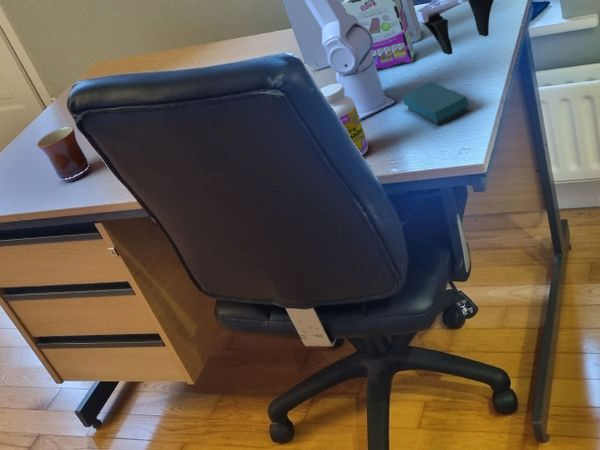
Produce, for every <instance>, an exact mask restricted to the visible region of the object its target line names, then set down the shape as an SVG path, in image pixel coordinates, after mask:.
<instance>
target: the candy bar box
mask: <svg viewBox="0 0 600 450" xmlns="http://www.w3.org/2000/svg"><path fill="white" fill-rule="evenodd" d="M342 6H343V8H344V10H345V11H346V12H347V13H348V14H351V15H353V16H355V17H356V18H357V20H358V21H359V23H360V24H361V25H362V26H364V27H365V28H367V29H368V30H369V31H370V33H371V35H372V38H373V45H372V48H371V49H370V52H371V55H372V57H373V59H374V62H375V66H376V69H377V71H380V70H384V69H389V68H393V67H397V66H402V65H405V64H409V63H412V62H414V61H413V60H414V57H415V54H416V52H415V48H414V45H413V42H412V41H411V38H410V34H409V31H408V28H407V24H406V21H405V17H404V14H403V10H402V7H401V4H400V0H343V2H342Z"/></svg>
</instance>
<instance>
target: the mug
mask: <svg viewBox="0 0 600 450" xmlns="http://www.w3.org/2000/svg"><path fill="white" fill-rule="evenodd" d="M75 132H76V131H75V128H74V127H73V126H64V127H60V128H58V129H55V130H53V131H51V132H49V133H47V134H45V135H44V136H43V137H41V138H40V139H39V140H38V141H37V143H36V146H37V147H38V149H40V150H41V152H43V153H44V154H45V155H46V157H47V158H48V160H49V162H50V164H51V166H52V168H53V170H54V171H55V173H56V175H57V176H58V178H59V179H60V178H61V179H60V180H61V181H62V182H64V183H71V182H75V181H77V180H79V179H81V178H83V177H84V176H86V174H87V173H88V172H89V170H90V164H89V161H88V158H87V156H86V154H85V153H84V151H83V150H82V148H81V146H80V145H79V142H78V140H77V136H76V133H75ZM88 165H89V167H88ZM87 167H88V169H87V170H86V171H84V170H85V169H86V168H87ZM82 171H84V172H83V173H82V174H80V175H78V176H76V177H74V178H71V179H68V180H62V179H65V178H69V177H73V176H74V175H76V174H79V173H80V172H82Z"/></svg>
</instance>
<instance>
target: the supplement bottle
mask: <svg viewBox="0 0 600 450" xmlns="http://www.w3.org/2000/svg"><path fill="white" fill-rule="evenodd" d="M319 90H321V92H322V93H323V95H324V96H325V98H326V99H327V101H328V102H329V104H330V105H331V107H332V108H333V109H334V111H335V112H336V114H337V115H338V117H339V118H340V120H341V121H342V123H343V125H344V126H345V128H346V129H347V131H348V133H349V135H350V137H351V139H352V140H353V142H354V143H355V145H356V146H357V147H358V149H359V150H360V152H361V153H362V155H363V156H364V155H365V154H366V153H367V152H368V150H369V144H368V141H367V138H366V135H365V131H364V129H363V126H362V123H361V120H360V119H359V116H358V113H357V110H356V106H355V103H354V101H353V100H352V99H351V98H350V97H347V96H345V95H344V94H345V90H344V88H343V85H342V84H337V83H332V84H328V85H325V86H324V87H322V88H320V89H319Z"/></svg>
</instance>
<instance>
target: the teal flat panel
mask: <svg viewBox="0 0 600 450" xmlns="http://www.w3.org/2000/svg"><path fill="white" fill-rule="evenodd" d="M401 97H402V98H401V99H402V100H403V104H404V105H405V106H406V107H407V109H408V111H409V112H411V113H413V114H415V115H417V116H418V117H421V118H423V119H424V120H426V121H428V122H430V123H432V124H434V125H435V126H438V127H440V126H441V125H443V124H446V123H447V122H449V121H452V120H453V119H455V118H458V117H460V116H461V115H463V114H465V113H467V112H468V110H467V108H468V107H469V101H468V98H467V96H465V95H463V94H461V93H459V92H457V91H455V90H451V89H449V88H447V87H445V86H442V85H440V84H438V83H437V82H434V81H430V82H427V83H425V84H424V85H421V86H420V87H418V88H417V87H416V88H415V89H413V90H411V91H409V92H408V93H405V94H403V95H402V96H401Z"/></svg>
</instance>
